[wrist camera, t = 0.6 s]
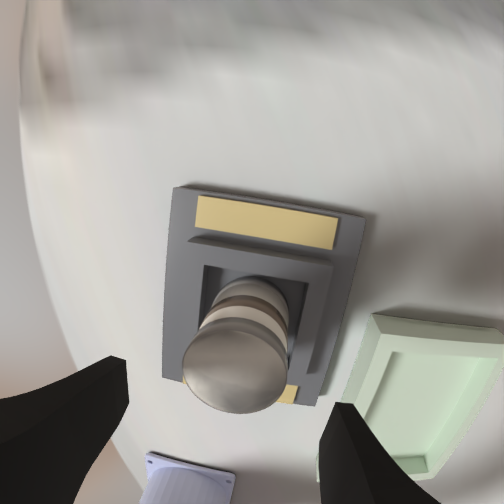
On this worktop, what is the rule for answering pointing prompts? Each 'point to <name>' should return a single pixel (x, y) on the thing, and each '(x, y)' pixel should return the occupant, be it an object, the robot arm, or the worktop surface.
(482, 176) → the worktop surface
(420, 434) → the parts tray
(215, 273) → the fuse holder
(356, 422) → the robot arm
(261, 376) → the cylinder
